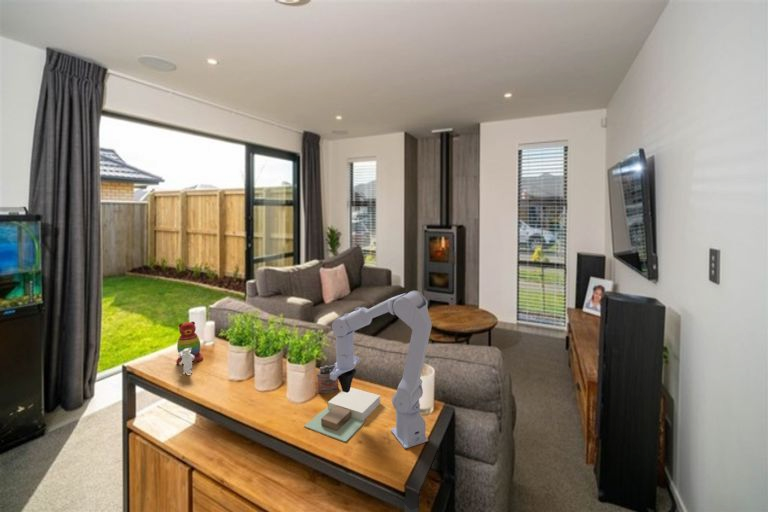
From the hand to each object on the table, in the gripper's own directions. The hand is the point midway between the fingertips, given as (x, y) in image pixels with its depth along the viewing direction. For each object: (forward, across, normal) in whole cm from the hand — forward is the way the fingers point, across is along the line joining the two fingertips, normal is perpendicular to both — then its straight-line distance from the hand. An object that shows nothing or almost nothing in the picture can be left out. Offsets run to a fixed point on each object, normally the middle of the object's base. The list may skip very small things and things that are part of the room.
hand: (346, 391), depth 114 cm
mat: (+8, +6, 0) cm, 11 cm away
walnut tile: (+8, +5, 0) cm, 10 cm away
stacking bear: (+9, -3, -91) cm, 91 cm away
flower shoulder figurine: (+9, +6, -77) cm, 78 cm away
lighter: (+9, -10, -15) cm, 20 cm away
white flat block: (+8, -5, 0) cm, 10 cm away
